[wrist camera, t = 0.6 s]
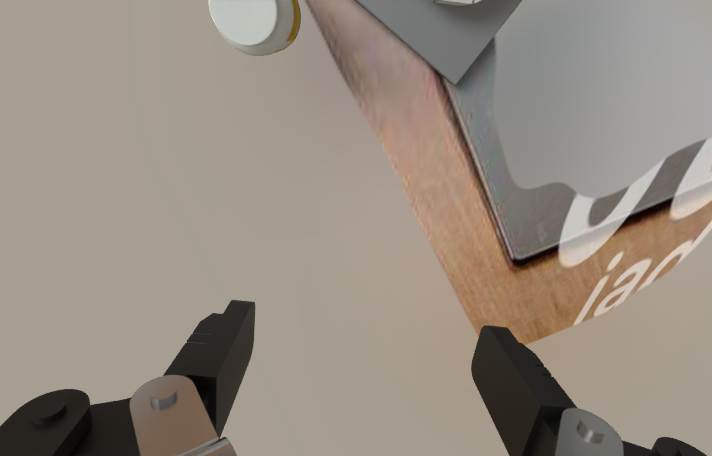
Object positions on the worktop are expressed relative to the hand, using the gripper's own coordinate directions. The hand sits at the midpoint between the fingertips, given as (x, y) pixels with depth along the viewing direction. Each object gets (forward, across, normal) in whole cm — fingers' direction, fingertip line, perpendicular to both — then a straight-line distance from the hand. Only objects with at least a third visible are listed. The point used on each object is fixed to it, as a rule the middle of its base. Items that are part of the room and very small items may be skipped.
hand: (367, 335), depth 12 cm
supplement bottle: (+23, +9, -14) cm, 28 cm away
